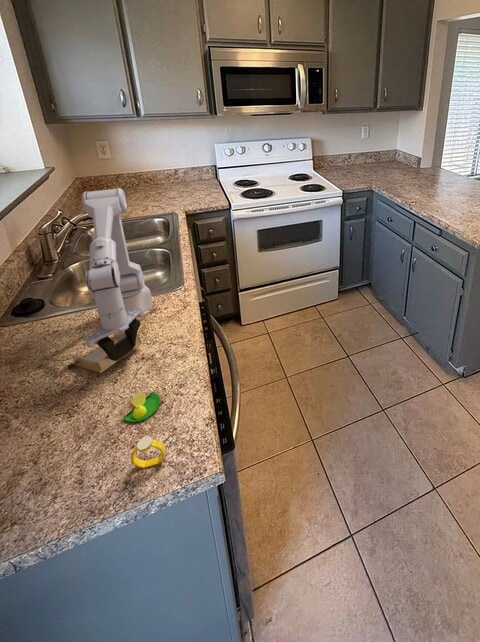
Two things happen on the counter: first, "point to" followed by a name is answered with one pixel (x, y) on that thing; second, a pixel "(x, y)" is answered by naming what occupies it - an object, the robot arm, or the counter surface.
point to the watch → (144, 446)
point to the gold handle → (71, 365)
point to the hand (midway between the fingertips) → (122, 352)
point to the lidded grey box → (99, 366)
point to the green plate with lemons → (143, 406)
